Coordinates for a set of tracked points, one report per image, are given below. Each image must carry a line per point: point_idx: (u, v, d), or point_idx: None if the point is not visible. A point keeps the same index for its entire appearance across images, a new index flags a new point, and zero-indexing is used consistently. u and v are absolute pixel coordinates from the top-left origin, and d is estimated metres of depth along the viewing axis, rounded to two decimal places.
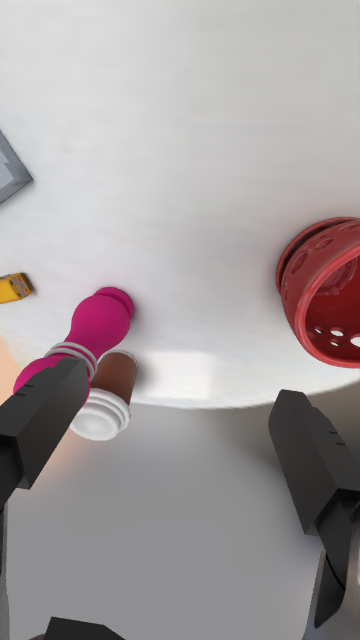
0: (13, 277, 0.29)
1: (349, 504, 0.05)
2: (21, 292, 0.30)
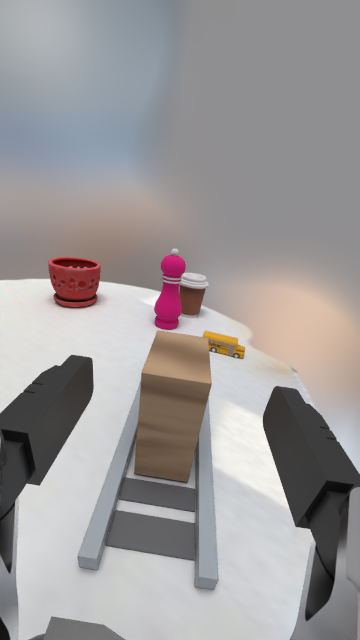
0: None
1: (337, 496, 0.05)
2: None
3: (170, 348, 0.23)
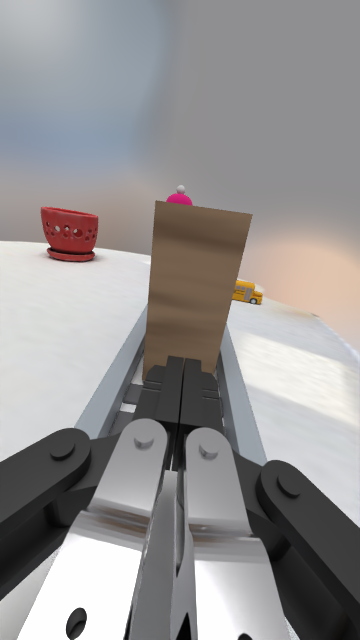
0: None
1: None
2: None
3: None
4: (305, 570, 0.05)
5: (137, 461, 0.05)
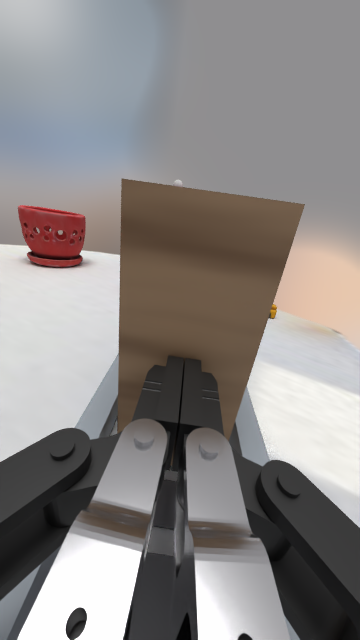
0: None
1: None
2: None
3: None
4: (305, 570, 0.05)
5: (136, 461, 0.05)
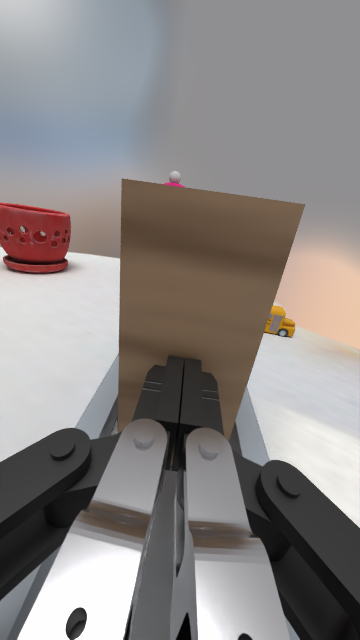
0: None
1: None
2: None
3: None
4: (305, 570, 0.05)
5: (137, 461, 0.05)
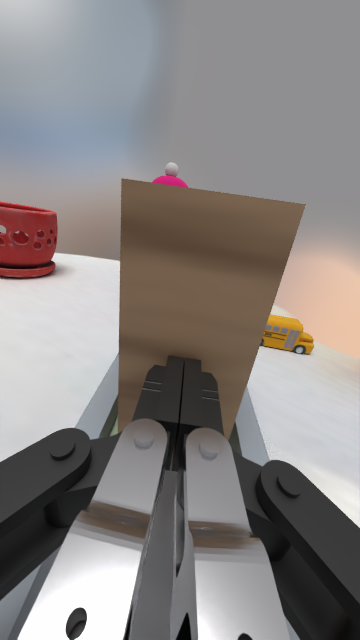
0: None
1: None
2: None
3: None
4: (305, 570, 0.05)
5: (136, 461, 0.05)
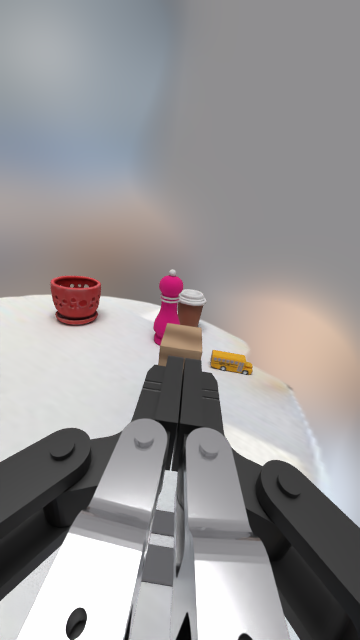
0: (211, 360, 0.52)
1: None
2: None
3: (176, 333, 0.35)
4: (305, 570, 0.05)
5: (137, 461, 0.05)
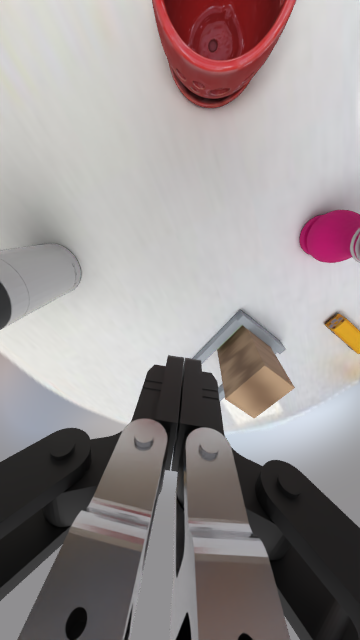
0: (329, 327, 0.40)
1: None
2: (340, 320, 0.39)
3: (256, 387, 0.32)
4: (305, 570, 0.05)
5: (137, 461, 0.05)
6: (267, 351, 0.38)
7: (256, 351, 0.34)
